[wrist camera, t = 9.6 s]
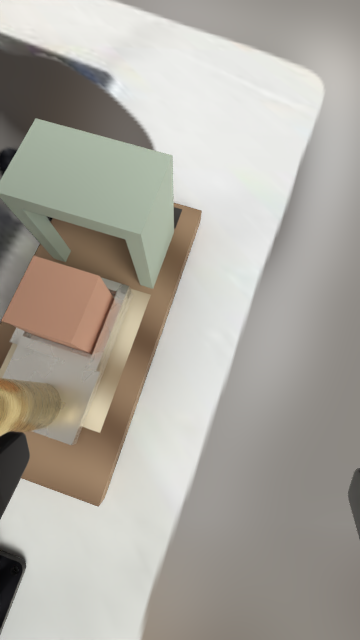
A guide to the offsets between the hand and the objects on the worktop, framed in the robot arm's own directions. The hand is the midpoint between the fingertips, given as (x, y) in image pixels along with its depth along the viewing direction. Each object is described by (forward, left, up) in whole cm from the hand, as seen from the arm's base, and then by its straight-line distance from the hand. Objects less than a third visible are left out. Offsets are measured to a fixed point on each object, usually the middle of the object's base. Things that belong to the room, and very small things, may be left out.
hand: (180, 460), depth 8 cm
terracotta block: (+4, +9, -10) cm, 14 cm away
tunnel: (+11, +9, -12) cm, 18 cm away
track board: (+5, +9, -13) cm, 17 cm away
